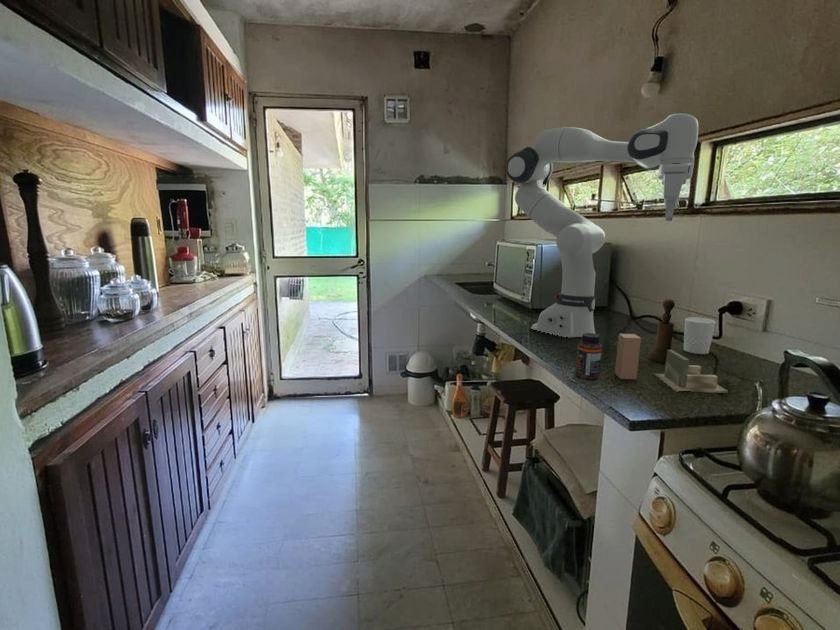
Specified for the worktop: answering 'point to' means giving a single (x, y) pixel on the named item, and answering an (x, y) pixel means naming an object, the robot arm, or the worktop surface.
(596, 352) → the supplement bottle
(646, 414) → the worktop surface
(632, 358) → the pink rectangular block
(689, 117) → the robot arm
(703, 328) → the white cup
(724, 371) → the worktop surface
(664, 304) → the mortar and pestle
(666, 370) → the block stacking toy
